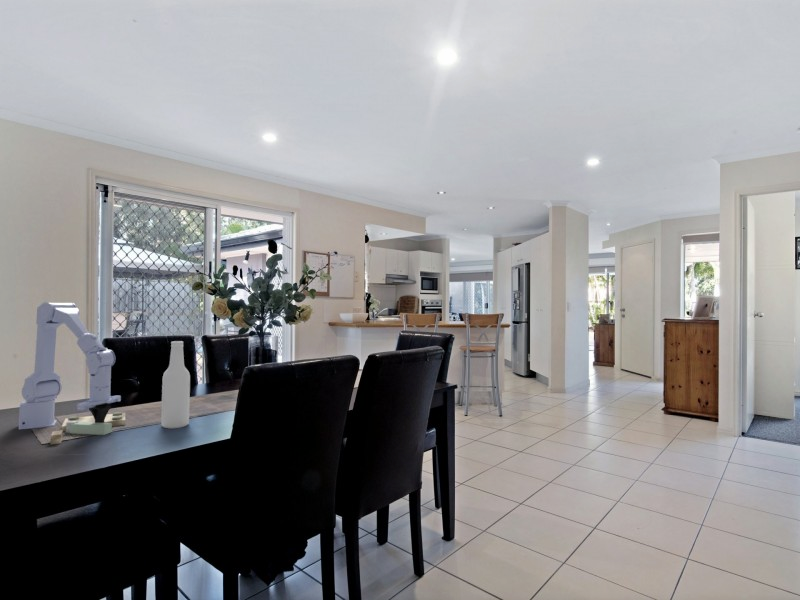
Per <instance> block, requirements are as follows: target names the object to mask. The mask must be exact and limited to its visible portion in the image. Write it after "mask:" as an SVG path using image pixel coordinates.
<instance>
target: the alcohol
mask: <svg viewBox="0 0 800 600" xmlns="http://www.w3.org/2000/svg"><path fill="white" fill-rule="evenodd" d="M170 344H171V345H170V347H171V349H170V355H169V364H168V367H167V369H166V370H165V371H164V372H163V376H162V380H161V381H162V384H161V388H162V389H161V393H162V394H161V419H160V421H161V423H160V424H161V427H162V428H166V429H170V430H171V429H172V430H173V429H181V428H184V427H187V425H188V424H189V423H190V403H191V402H190V396H191V395H190V393H191V374H190V372H189V370H188V368H187V367H186V366H185V359H184V357H185V355H184V347H185V346H184V341H182V340H174V341H171V342H170Z"/></svg>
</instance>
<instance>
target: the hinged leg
mask: <svg viewBox="0 0 800 600" xmlns="http://www.w3.org/2000/svg"><path fill="white" fill-rule="evenodd" d="M112 427H113V426H112V423H95V422H78V421H70V422H67V423H66V431H65V433H66V434H78V435H79V434H80V435H96V436H97V435H98V436H99V435H100V436H105V435H108V434H110V433H112V429H113V428H112Z"/></svg>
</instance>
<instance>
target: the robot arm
mask: <svg viewBox="0 0 800 600" xmlns="http://www.w3.org/2000/svg"><path fill="white" fill-rule="evenodd" d="M35 324H36V326H37V327H36V341H35V344H36V345H35V354H34V359H35V360H34V369H33V371H34V372H32V374H30V375H29V376H27V377H25V379H24V384H23V387H22V389H21V395H22V398H23V400H25V401H21V402H20V404H19V412H18V430H26V429H35V428H36V429H37V428H44V427H45V428H46V427H54V426H55V425H56V423H57V421H58V420H57V419H55V411H56V410H55V407H56V405H55V404H56V401H55V400H56V399H58V396H59V395H60V394H61V392H62V383H61V376H60V375H58V374H57V373H56V372H55V358H56V357H55V356H56V342H57V341H56V340H57V329H58V328H59V327H60V326H62V325H63V324H65V325H66V327H67V328H68V329H69V331H71V332H72V333H73V335H74V336H75V337H76V338H77V341H76V345H78V348H79V349H80V350H81V351H82V353H83V355H85V357H86V359H85V364H86V366H87V369H88V371H87V372H88V373H89V374H90V375H89V400H86V401H83V402H80V403H76V405H77V406H76V410H77V411H85V410H87V409H88V410H89V411H90V413H91V415H92V416H94V419H95V423H104V420H105V417H106V415H107V414H109V411H110V410H111V407H112V406H111V404H112V403H116V402H121V400H122V396H121V395H111V383H112V381H111V379H112V367H113V366H114V365H115V363H116V355H115V352H114V350H112V349H108V347H105V346H104V345H103V343H102V342H101V341H100V339H99V338H98V336H97V334H94V333H90V332H89V331H88V329H87V328H86V325H85V324H84V323H83V321H82V319H81V318H80V309H79V308H78V306H77V304H75V303H74V302H49V301H48V302H47V301H45V302H42V303H41V304H39V306H37V308H36V322H35Z"/></svg>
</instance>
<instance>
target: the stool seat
mask: <svg viewBox="0 0 800 600" xmlns="http://www.w3.org/2000/svg"><path fill="white" fill-rule="evenodd" d="M70 421H78V422H95V419H94V416H93V415H88V416H69V417H68V418H67V417H65V419H64V421H63V423H62V425H61V428H60V430H53V431H52V433H51V434H50V443H49V444H50V445H51V446H52V445H58V444H60V445H61V443H62V441H63V433H64V432H66V423H67V422H70ZM126 422H127V421H126V412H122V411H120V412H119V411H117V412H113V413H107V415H106V417H105V420H104V423H112V427H116V426H117V427H118V426H124V425H126Z"/></svg>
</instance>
